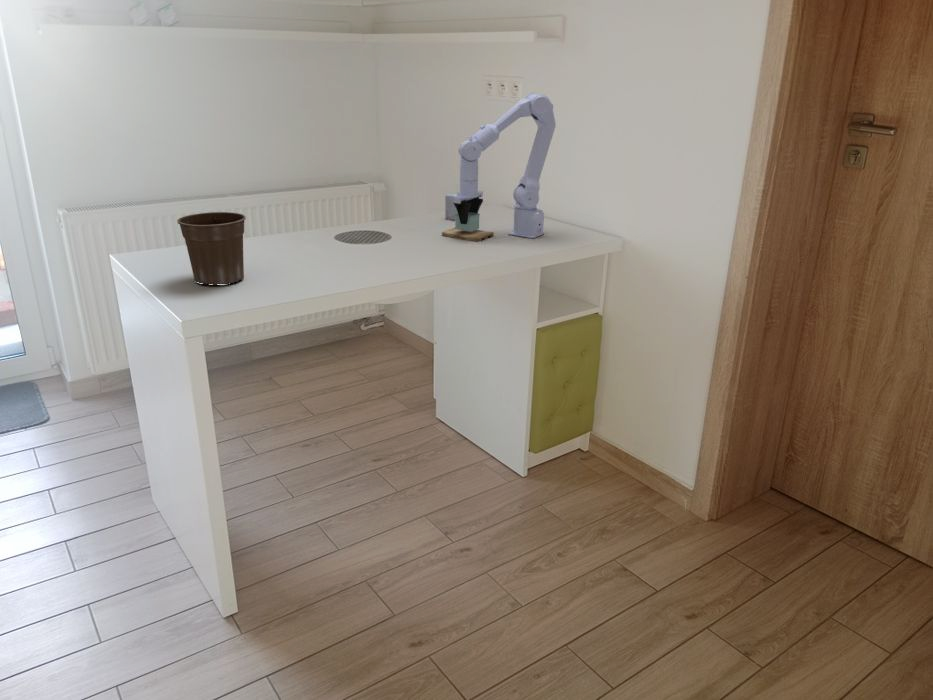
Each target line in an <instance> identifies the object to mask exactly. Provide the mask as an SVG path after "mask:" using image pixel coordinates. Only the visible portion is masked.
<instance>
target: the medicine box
mask: <svg viewBox="0 0 933 700" xmlns="http://www.w3.org/2000/svg"><path fill="white" fill-rule="evenodd" d="M455 196H457V193H450V194H447V195H445V197H444V199H445V207H444V208H445V216H444V217H445V220H449V221H455V222H456V216H455V214H457V213H458V212H457V209H456V207H455V206H454V197H455Z"/></svg>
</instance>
